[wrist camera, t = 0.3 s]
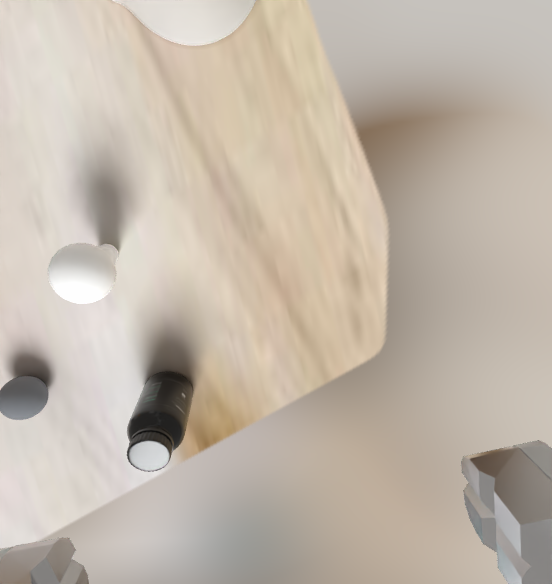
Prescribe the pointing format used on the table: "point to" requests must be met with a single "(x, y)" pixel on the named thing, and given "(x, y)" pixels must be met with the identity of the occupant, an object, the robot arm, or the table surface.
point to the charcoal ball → (23, 397)
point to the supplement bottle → (159, 421)
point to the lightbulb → (83, 272)
